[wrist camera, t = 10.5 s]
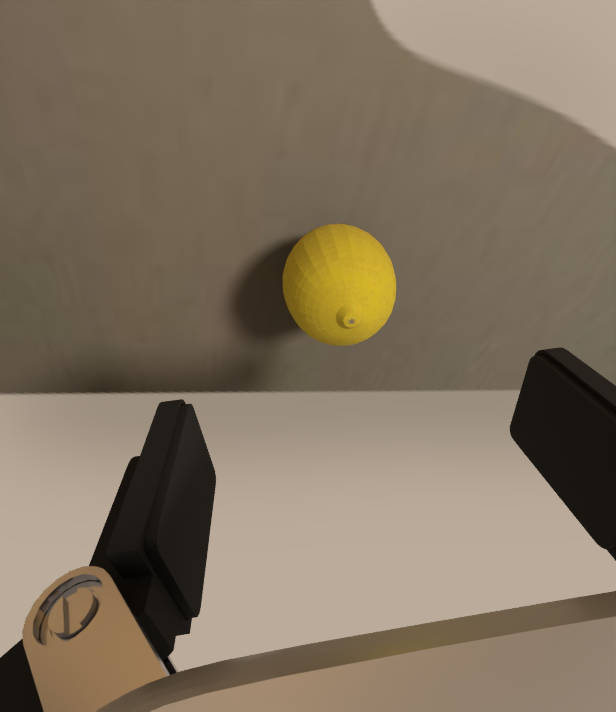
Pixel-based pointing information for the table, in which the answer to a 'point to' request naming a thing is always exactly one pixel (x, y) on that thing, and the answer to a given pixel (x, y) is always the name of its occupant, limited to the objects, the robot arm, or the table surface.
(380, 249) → the lemon
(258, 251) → the table surface
